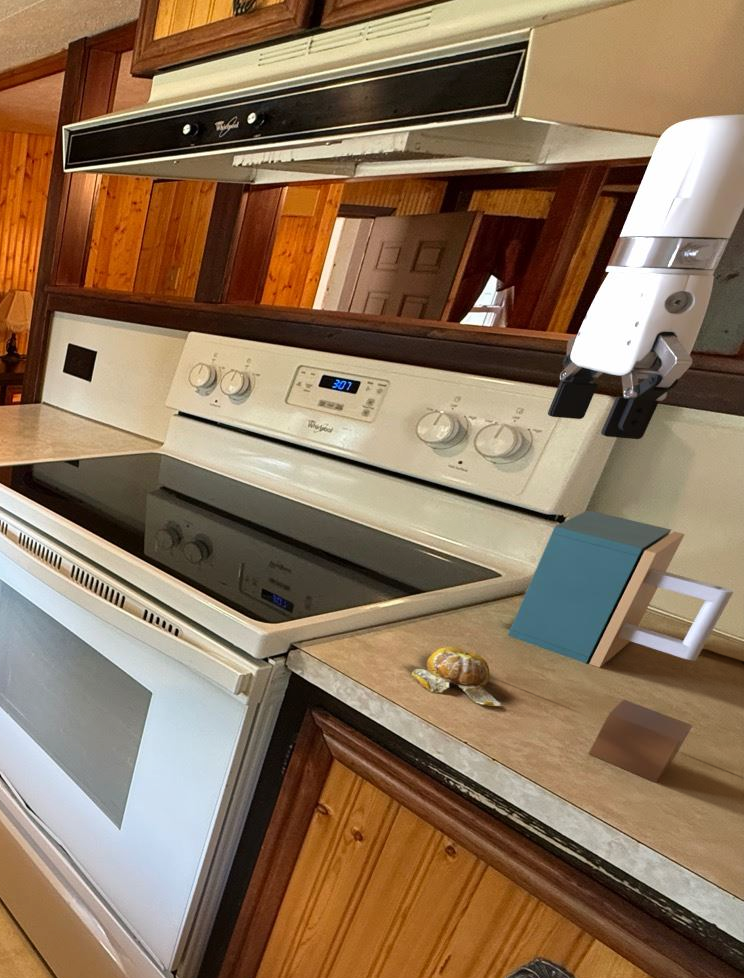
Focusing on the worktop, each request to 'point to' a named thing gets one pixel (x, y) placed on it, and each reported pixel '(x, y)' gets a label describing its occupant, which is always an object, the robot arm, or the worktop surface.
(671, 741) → the block
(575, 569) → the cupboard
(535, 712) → the worktop surface
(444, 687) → the fruit
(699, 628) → the tan rectangular box
